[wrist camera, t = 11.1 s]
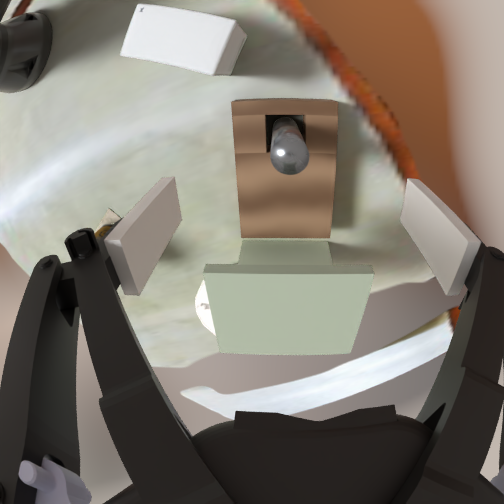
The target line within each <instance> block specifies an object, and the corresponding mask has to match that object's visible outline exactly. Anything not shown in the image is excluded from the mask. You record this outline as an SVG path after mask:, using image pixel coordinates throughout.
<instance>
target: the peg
mask: <svg viewBox="0 0 504 504" xmlns="http://www.w3.org/2000/svg"><path fill="white" fill-rule="evenodd" d="M270 159H271V163H272V165H273V166H274V168H275V169H276V170H277V171H279V172H280V173H282V174H286V175H295V174H298V173H300V172H302V171H303V170H304V169H305V168H306V167H307V165H308V162H309V151H308V148H307V146H306V144H305V142H304V139H303V137H302V135H301V133H300V130H299V128H298V126H297V124H296V122H295V121H294V120H293V119H291V118H288V117H282V118H279V119H278V120H276V121H275V123H274V125H273V131H272V142H271V153H270Z"/></svg>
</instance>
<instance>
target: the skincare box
mask: <svg viewBox="0 0 504 504" xmlns="http://www.w3.org/2000/svg"><path fill="white" fill-rule="evenodd" d="M246 39H247V34H246V33H245V32H244V31H243V30H242V28H241V27H240V25H239V24H238V22H237V21H236V20H235V19H230V18H226V17H222V16H217V15H213V14H208V13H203V12H198V11H193V10H187V9H181V8H175V7H168V6H160V5H152V4H141V3H139V4H138V5H137V7H136V9H135V12H134V14H133V17H132V20H131V22H130V25H129V28H128V31H127V33H126V36H125V39H124V42H123V45H122V49H121V52H120V56H125V57H130V58H135V59H141V60H146V61H152V62H156V63H161V64H166V65H171V66H175V67H179V68H184V69H188V70H192V71H196V72H200V73H203V74H207V75H211V76H216V75H227V76H230V75H231V73H232V71H233V68H234V66H235V63H236V61H237V58H238V56H239V54H240V52H241V49H242V47H243V45H244V43H245V41H246Z"/></svg>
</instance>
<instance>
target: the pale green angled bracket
mask: <svg viewBox="0 0 504 504" xmlns="http://www.w3.org/2000/svg"><path fill="white" fill-rule="evenodd" d="M203 276H204V281H205V286H206V291H207V296H208V301H209V305H210V310H211V315H212V319H213V324H214V328H215V333H216V337H217V342H218V346H219V350H220V353H237V354H238V353H239V354H263V355H321V354H322V355H323V354H324V355H325V354H349V353H351V349H352V347H353V344H354V341H355V338H356V335H357V332H358V329H359V326H360V323H361V320H362V317H363V313H364V310H365V307H366V303H367V299H368V296H369V293H370V289H371V286H372V282H373V278H374V271H373V268H372V266H371V265H333V262H332V258H331V254H330V250H329V246H328V242H327V241H242V246H241V251H240V255H239V260H238V265H237V264H206V266H205V268H204V271H203Z"/></svg>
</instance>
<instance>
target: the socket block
mask: <svg viewBox="0 0 504 504" xmlns="http://www.w3.org/2000/svg"><path fill="white" fill-rule="evenodd" d="M231 106H232V121H233V135H234V148H235V162H236V175H237V188H238V201H239V214H240V226H241V238H330V232H331V222H332V212H333V201H334V188H335V173H336V156H337V132H338V102H336V101H333V100H325V99H299V98H268V99H242V100H235V101H232V102H231ZM266 115H303V139H304V142H305V144H306V146H307V148H308V151H309V162H308V165H307V167H306V168H305V169H304V170H303V171H302V172H300V173H298V174H295V175H286V174H282V173H280V172H279V171H277V170H276V169H275V168H274V166H273V165H272V163H271V159H270V153H271V145H267V120H266Z"/></svg>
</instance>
